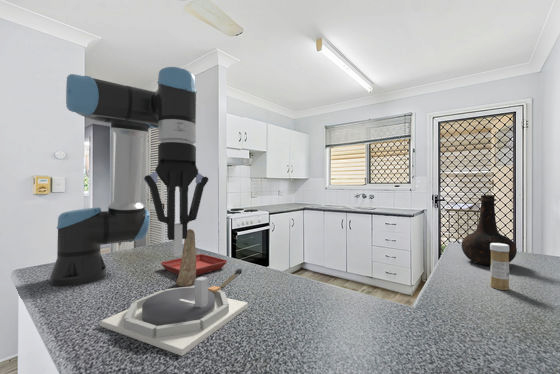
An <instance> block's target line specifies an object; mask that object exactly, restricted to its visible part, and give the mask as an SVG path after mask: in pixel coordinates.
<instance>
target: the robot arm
mask: <svg viewBox="0 0 560 374" xmlns="http://www.w3.org/2000/svg"><path fill="white" fill-rule="evenodd" d="M65 82H66V83H65V84H66V87H65V91H66V92H65V102H66V103H65V104H66V108H67V110H68V111H70V112H72V113H76V114H78V115H79V116H82V117H84V118H87V119H90V120H93V121H97V122H103V123H109V124H110V129H111V130H112V132H114V134H115V148H114V149H115V151H114V152H115V153H114V154H115V155H114V176H113V177H114V179H113V180H114V181H113V201H112V202H111V203H110V204H108V207H107V208H108V209H107V211H102V208H101V207H88V208H82V209H81V208H80V209H75V210H69V211H65V212H61V214H59V216H58V217H57V226H56V229H57V247H56V248H57V253H56V254H57V257H56V260H55V263H54V266H53V268H52V271H51V273H50V275H49V284H50V285H52V286H54V287H55V286H56V287H67V286H76V285H83V284H87V283H91V282H95V281H98V280H100V279H103V278H104V277H106V276H107V266H106V264H105V261H104V259H103V256H102V254H101V246H102V245H110V244H111V245H112V244H120V243H133V242H137V241H141V240H143V239H145V237H146V236H147V235H148V231H149V227H150V220H151V219H150V217H151V216H150V215H151V214H150V211H149V210H148V209H147V208H145V207H146V205H145V204H144V203H143V202H141V199H142V198H141V197H142V195H141V194H142V193H141V192H142V176H143V175H142V174H143V155H144V154H143V153H144V152H143V149H144V137H145V136H146V135H147V134H149V130H150V129H153V128H154V129H157V140H158V141H159V142H160V143H159V144H158V145H157V164H156V168H155V171H154V172H152V173H150V174H148V175H145V176H144V177H143V180H144V182H145V183H146V185H148V188H149V191H150V195H151V198H152V203H153V207H154V210H155V214H156V219H157V220H158V222H161V223H164V224H166V227H167V229H166V234H167V235H166V237H167V239H168V241H172V255H173V256H174V258H175V257H182V255H183V240H185V239H186V238H187V230H188V224H189V223H190V222H192V221H196V219H197V216H198V212H199V209H200V205H201V200H202V196H203V192H204V189H205V186H206V185H207V183H208V182H209V177H207V176H204V175H202V174H201V173H200V172H199V168H198V167H197V147H196V146H195V143H197V142H196V141H197V140H196V139H197V136H196V135H197V134H196V133H197V129H196V128H197V127H196V125H197V123H196V122H197V121H196V119H197V116H196V115H197V86H196V77H195V75H194V73H192V72H191V71H189V70H187V69H185V68H182V67H177V66H166V67H163V68H161V69H160V70H159V71H158V77H157V82H156V83H157V89H156V91H153V90H149V89H143V88H140V87H135V86H131V85H125V84H122V83H121V84H120V83H116V82H112V81H107V80H103V79H100V78H99V79H98V78H95V77H92V76H88V75H81V74H76V73H75V74H74V73H69V74H68V75H67V76H66V81H65ZM158 178H159V179H160V180H161V182H162V183H163V184H164V185H165V186H166V214H165V211H164V207H163V204H162V198H161V195H160V192H159V188H158V186H157V183H158V181H159V180H158ZM194 180H195V183H196V184H195V188H194V191H193V196H192V200H191V204H190V208H189V200H188V199H189V197H188V196H189V186H190V185H191V184H192V182H193V181H194ZM177 187H178V189H179V190H178V192H179V222H178V223H176V188H177Z"/></svg>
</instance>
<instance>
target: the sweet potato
mask: <svg viewBox="0 0 560 374" xmlns="http://www.w3.org/2000/svg"><path fill="white" fill-rule="evenodd" d="M183 240H184V241H183V242H184V243H183V247H182V256H181V258H182V259H181V265H180V270H179V275H177V276H178V277H177V279H176V282H175V284H176V285H177V286H178V287H179V288H181V287H190V286H194V285H195V279H197V275H196V255H197V249H196V234H195V231H194V230H193V229H191V228H189V229H188V228H187V238H186V239H183Z"/></svg>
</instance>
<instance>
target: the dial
mask: <svg viewBox="0 0 560 374" xmlns="http://www.w3.org/2000/svg"><path fill="white" fill-rule="evenodd" d="M194 286H195V288H181V287H178V288H179V289H173V290H168V291H165V290H164V292H161V293H158V294H156V295H154V296H152V297H150V298H148V299H147V300H146V301H145V302H144V303H143V305H142V320H143V321H144V322H146V323H149V324H152V325H155V326H161V325H168V324H174V323H181V322H187V321H194V320H200V319H201V318H203V317H205V316H206V315H208V314H209V313H211V312H213V311H214V308H215V295H214V294H213V293H212V292H211V291H209V290H208V288H209V278H208V277H204V276H200V277H196V279H195V283H194Z"/></svg>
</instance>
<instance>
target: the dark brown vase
mask: <svg viewBox="0 0 560 374" xmlns="http://www.w3.org/2000/svg"><path fill="white" fill-rule="evenodd" d="M480 197H481V198H480V199H479V201H480V211H479V219H478V223H477V227H476V229H475V230H474V231H473V232H472V233H469V234H467V235H465V236H464V237H463V239H462V240H461V245H460V246H461V250H462V252H463V255H465V257H466V258H467V259H468V260H469V261H471V262H473V263H475V264H479V265H483V266H488V267H491V249H490V244H491V243H502V244H507V245H509V263H512V261H514V259H515V257H516V256H517V251H518V250H517V246H516V244H515V242H514V241H513V240H512V239H510V238H509V237H507V236H506V235H502V234H501V233H500V232H499V230H498V227H497V220H496V208H495V201H496V202H497V201H498V199H496V198H495V195H493V194H482V195H481V196H480Z"/></svg>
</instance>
